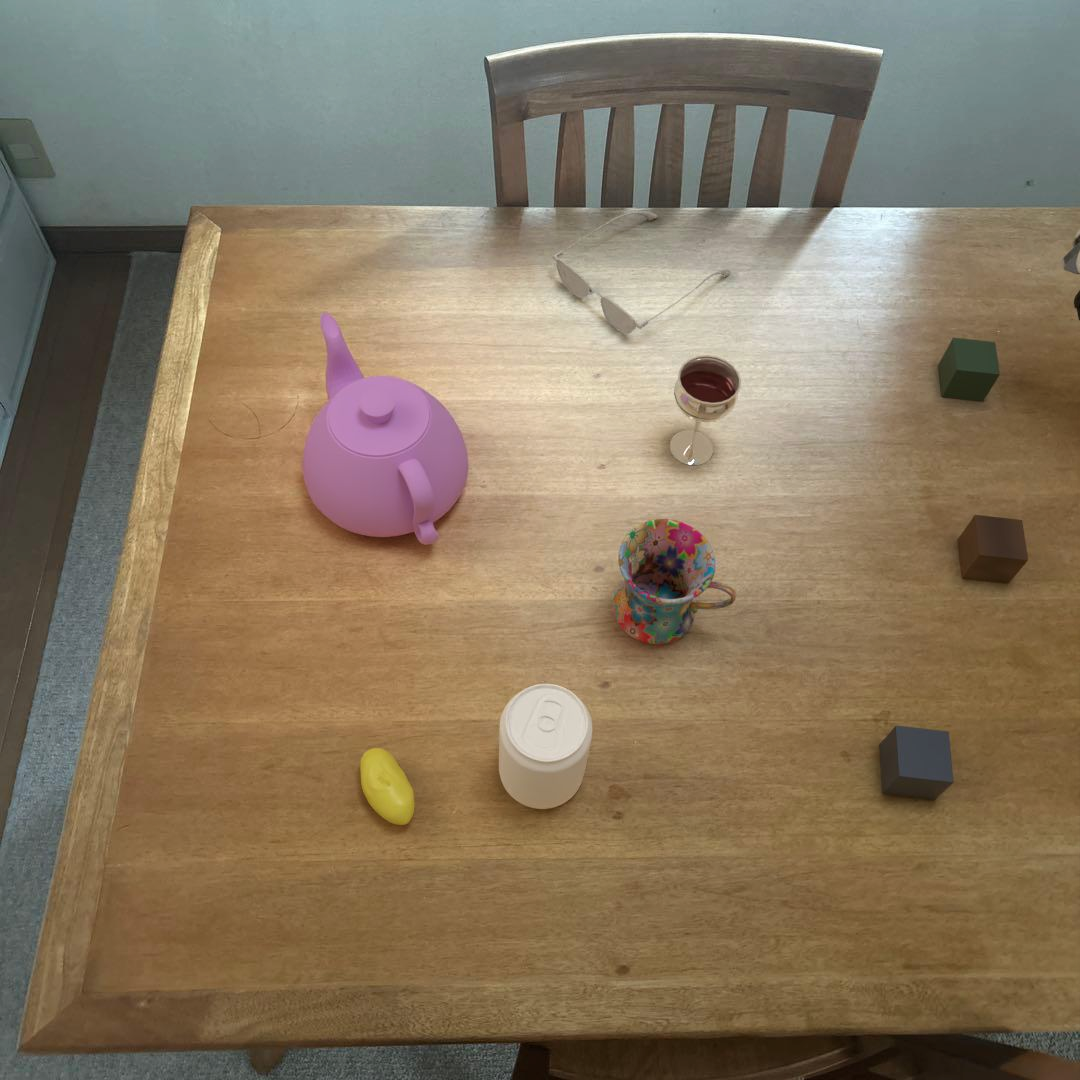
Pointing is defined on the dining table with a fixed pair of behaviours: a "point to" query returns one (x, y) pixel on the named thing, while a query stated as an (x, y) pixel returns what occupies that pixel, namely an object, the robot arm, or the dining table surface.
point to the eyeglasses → (610, 308)
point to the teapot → (381, 451)
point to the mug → (664, 580)
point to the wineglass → (703, 403)
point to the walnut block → (992, 549)
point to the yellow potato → (386, 786)
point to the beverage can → (544, 745)
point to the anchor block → (916, 762)
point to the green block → (968, 369)
